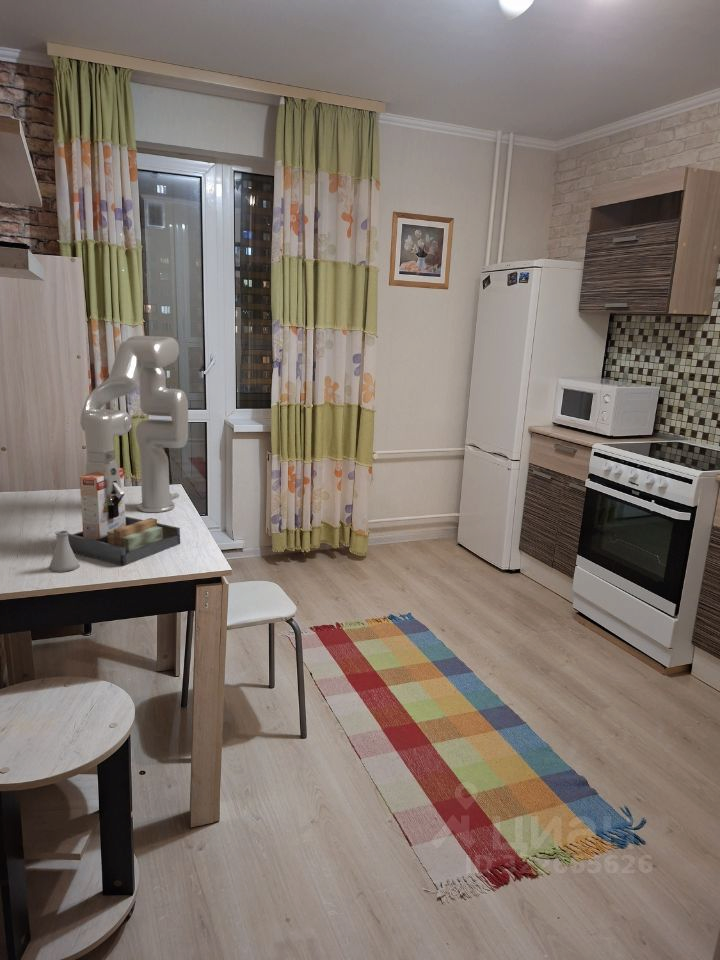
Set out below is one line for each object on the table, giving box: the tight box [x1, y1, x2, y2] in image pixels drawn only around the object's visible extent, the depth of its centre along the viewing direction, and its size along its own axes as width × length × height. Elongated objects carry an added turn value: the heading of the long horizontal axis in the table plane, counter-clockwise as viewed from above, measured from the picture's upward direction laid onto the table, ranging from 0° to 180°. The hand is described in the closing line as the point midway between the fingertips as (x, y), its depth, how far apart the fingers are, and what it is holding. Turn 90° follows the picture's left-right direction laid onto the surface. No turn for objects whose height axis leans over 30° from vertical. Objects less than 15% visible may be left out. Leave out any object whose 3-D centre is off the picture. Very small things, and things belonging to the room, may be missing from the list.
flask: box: [48, 529, 81, 573], centre depth 173 cm, size 7×7×10 cm
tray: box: [68, 515, 181, 566], centre depth 191 cm, size 22×26×5 cm
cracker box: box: [79, 467, 127, 539], centre depth 192 cm, size 14×6×21 cm, turn 168°
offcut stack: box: [107, 517, 163, 552], centre depth 188 cm, size 14×8×8 cm, turn 153°
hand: (104, 514), depth 193 cm, fingers closed on cracker box, 7 cm apart
